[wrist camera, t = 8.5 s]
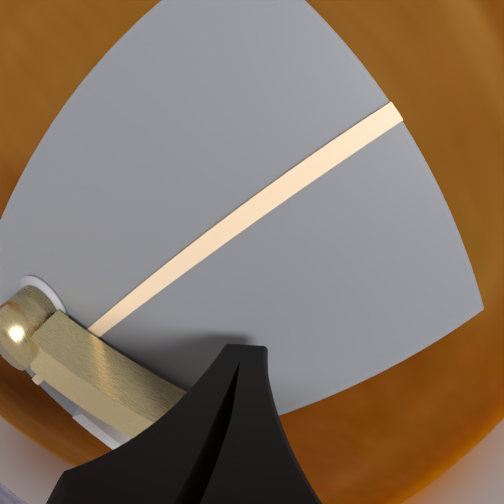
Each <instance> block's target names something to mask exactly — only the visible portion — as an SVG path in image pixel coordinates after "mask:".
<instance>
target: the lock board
mask: <svg viewBox="0 0 504 504" xmlns="http://www.w3.org/2000/svg"><path fill="white" fill-rule="evenodd" d="M27 285H30V286H34V287H36V288H37V289H39V290H40V291H41V292H43V293H44V294H45V295H46V296H47V298H48V299H49V300H50V301H51V303H52V304H53V306H54V307H55V309H56V311H57V310H59V311H61V312H62V313H63V314H65V315H66V316H67V317H69V318H70V319H71V320H73V321H74V322H75V323H77V324H78V325H79V326H81V327H82V328H84V329H85V330H86V331H88V332H89V333H91V334H92V335H93V336H95V337H96V338H98V339H99V340H101V341H102V342H104V343H105V344H107V345H108V346H110V347H111V348H113V349H114V350H116V351H117V352H119V353H120V354H122V355H124V356H125V357H127V358H128V359H130V360H132V361H133V362H135V363H136V364H138V365H140V366H141V367H143V368H145V369H146V370H148V371H150V372H152V373H153V374H155V375H157V376H159V377H160V378H162V379H164V380H166V381H168V382H169V383H171V384H173V385H175V386H177V387H179V388H181V389H182V390H184V391H186V392H188V391H189V390H190V389H191V388H192V387H193V386H194V384H195V383H196V382H197V381H198V380H199V379H200V377H201V376H202V375H203V374H204V373H205V372H206V370H207V369H208V368H209V367H210V365H211V364H212V363H213V361H214V360H215V359H216V357H217V356H218V355H219V353H220V352H221V351H222V349H223V348H224V346H225V345H226V344H242V345H258V346H265V347H266V348H268V376H269V381H270V386H271V390H272V395H273V399H274V402H275V406H276V409H277V412H278V415H282V414H285V413H288V412H290V411H293V410H296V409H298V408H301V407H304V406H306V405H309V404H311V403H314V402H316V401H319V400H321V399H324V398H326V397H329V396H331V395H333V394H336V393H338V392H340V391H343V390H345V389H347V388H349V387H351V386H354V385H356V384H358V383H360V382H362V381H364V380H366V379H368V378H370V377H372V376H374V375H376V374H378V373H380V372H382V371H384V370H386V369H388V368H390V367H392V366H394V365H396V364H398V363H399V362H401V361H403V360H405V359H407V358H408V357H410V356H412V355H414V354H416V353H417V352H419V351H421V350H422V349H424V348H426V347H427V346H429V345H431V344H432V343H434V342H436V341H437V340H439V339H440V338H442V337H444V336H445V335H447V334H448V333H450V332H451V331H453V330H454V329H456V328H457V327H459V326H460V325H462V324H463V323H465V322H466V321H468V320H469V319H471V318H472V317H473V316H475V315H476V314H478V313H479V312H480V311H482V310H483V309H484V307H483V304H482V300H481V296H480V293H479V289H478V286H477V283H476V279H475V276H474V273H473V270H472V267H471V264H470V261H469V258H468V255H467V253H466V250H465V247H464V244H463V242H462V239H461V237H460V234H459V232H458V229H457V227H456V224H455V222H454V219H453V217H452V215H451V212H450V210H449V208H448V206H447V203H446V201H445V199H444V197H443V195H442V193H441V190H440V188H439V186H438V184H437V182H436V180H435V178H434V176H433V174H432V172H431V170H430V169H429V167H428V165H427V163H426V161H425V159H424V157H423V155H422V154H421V152H420V150H419V148H418V147H417V145H416V143H415V141H414V140H413V138H412V136H411V135H410V133H409V131H408V130H407V128H406V126H405V125H404V123H403V119H402V117H401V115H400V114H399V112H398V111H397V109H396V108H395V106H394V105H393V103H392V102H389V100H388V99H387V97H386V96H385V94H384V93H383V91H382V90H381V89H380V87H379V86H378V84H377V83H376V82H375V80H374V79H373V78H372V76H371V75H370V74H369V72H368V71H367V70H366V68H365V67H364V66H363V65H362V63H361V62H360V61H359V59H358V58H357V57H356V56H355V55H354V53H353V52H352V51H351V50H350V48H349V47H348V46H347V45H346V44H345V43H344V41H343V40H342V39H341V38H340V37H339V36H338V35H337V33H336V32H335V31H334V30H333V29H332V28H331V27H330V26H329V25H328V24H327V22H326V21H325V20H324V19H323V18H322V17H321V16H320V15H319V14H318V13H317V12H316V11H315V10H314V9H313V8H312V7H311V6H310V5H309V4H308V3H307V2H306V1H305V0H161V1H160V2H159V3H158V4H157V5H156V6H154V7H153V8H152V9H151V10H150V11H149V12H148V13H147V14H145V15H144V16H143V17H142V18H141V19H140V20H139V21H138V22H137V23H136V24H135V25H134V26H133V27H132V28H131V29H130V30H129V31H127V32H126V33H125V34H124V36H123V37H122V38H121V39H120V40H119V41H118V42H117V43H116V44H115V45H114V46H113V47H112V48H111V49H110V50H109V51H108V52H107V53H106V55H105V56H104V57H103V58H102V59H101V60H100V61H99V62H98V64H97V65H96V66H95V67H94V68H93V69H92V71H91V72H90V73H89V74H88V75H87V77H86V78H85V79H84V80H83V82H82V83H81V84H80V85H79V87H78V88H77V89H76V91H75V92H74V93H73V95H72V96H71V97H70V99H69V100H68V101H67V103H66V104H65V105H64V107H63V108H62V110H61V111H60V113H59V114H58V115H57V117H56V118H55V120H54V121H53V123H52V124H51V126H50V127H49V129H48V131H47V132H46V134H45V135H44V137H43V138H42V140H41V142H40V143H39V145H38V147H37V148H36V150H35V152H34V154H33V155H32V157H31V159H30V161H29V162H28V164H27V166H26V168H25V170H24V172H23V173H22V175H21V177H20V179H19V181H18V183H17V185H16V187H15V189H14V191H13V193H12V195H11V198H10V200H9V202H8V204H7V206H6V208H5V211H4V213H3V215H2V218H1V220H0V306H1V305H2V304H3V303H4V302H6V301H7V300H8V299H9V298H11V297H12V296H13V295H14V294H16V293H17V292H18V291H19V290H21V289H22V288H23V287H24V286H27ZM25 370H26V371H27V372H28V374H29V375H30V376H31V377H32V380H33V381H34V382H35V383H36V384H37V385H40V386H41V387H42V388H43V389H44V390H45V391H46V392H47V393H48V394H49V395H50V396H51V397H52V398H53V399H54V400H55V401H56V402H57V403H59V404H60V405H61V406H62V407H63V408H64V409H65V410H66V411H67V412H69V413H70V414H71V415H72V416H73V417H72V418H73V419H75V420H76V421H77V422H78V423H79V424H80V425H82V426H83V427H84V428H85V429H87V430H88V431H89V432H90V433H92V434H93V435H94V436H95V437H97V438H98V439H99V440H101V441H102V442H103V443H105V444H106V445H107V446H109V447H110V448H111V449H113V450H114V449H115V448H117V447H119V446H121V445H122V444H124V443H126V442H127V441H129V440H131V439H132V438H131V437H129V436H127V435H126V434H124V433H122V432H120V431H119V430H117V429H115V428H113V427H112V426H110V425H108V424H107V423H105V422H103V421H102V420H100V419H99V418H97V417H95V416H94V415H92V414H91V413H89V412H88V411H86V410H85V409H83V408H82V407H80V406H79V405H77V404H76V403H74V402H73V401H71V400H70V399H68V398H67V397H66V396H64V395H63V394H62V393H60V392H59V391H57V390H56V389H55V388H54V387H52V386H51V385H50V384H48V383H47V382H46V381H44V380H43V379H42V378H41V377H39V376H38V375H37V374H36V373H35V372H33V371H32V370H31V369H30V365H29V366H28V367H27V368H26V369H25Z"/></svg>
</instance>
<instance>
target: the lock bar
mask: <svg viewBox="0 0 504 504" xmlns="http://www.w3.org/2000/svg"><path fill="white" fill-rule="evenodd" d="M0 354H1V356H2V357H3V358H4V359H5V360H6V361H7V362H8V363H9V364H11V365H12V366H13V367H15V368H17V369H19V370H25V369H26V368H27V367H28V366H29V365H30V369H31V370H32V371H33V372H35V373H36V374H37V375H38V376H39V377H41V378H42V379H43V380H44V381H46V382H47V383H48V384H50V385H51V386H52V387H54V388H55V389H56V390H57V391H59V392H60V393H62V394H63V395H64V396H66V397H67V398H68V399H70V400H71V401H73V402H74V403H76V404H77V405H79V406H80V407H82V408H83V409H85V410H86V411H88V412H89V413H91V414H92V415H94V416H95V417H97V418H99V419H100V420H102V421H103V422H105V423H107V424H108V425H110V426H112V427H113V428H115V429H117V430H119V431H120V432H122V433H124V434H126V435H127V436H129V437H131V438H134V437H135V436H137V435H138V434H139V433H141V432H142V431H144V430H145V429H146V428H148V427H149V426H151V425H152V424H153V423H154V422H156V421H157V420H158V419H159V418H160V417H162V416H163V415H164V414H165V413H166V412H167V411H169V410H170V409H171V408H172V407H173V406H174V405H175V404H176V403H177V402H178V401H179V400H180V399H181V398H182V397H183V396H184V395H185V394H186V393H187V392H186V391H184V390H182V389H181V388H179V387H177V386H175V385H173V384H171V383H169V382H168V381H166V380H164V379H162V378H160V377H159V376H157V375H155V374H153V373H152V372H150V371H148V370H146V369H145V368H143V367H141V366H140V365H138V364H136V363H135V362H133V361H132V360H130V359H128V358H127V357H125V356H124V355H122V354H120V353H119V352H117V351H116V350H114V349H113V348H111V347H110V346H108V345H107V344H105V343H104V342H102V341H101V340H99V339H98V338H96V337H95V336H93V335H92V334H91V333H89V332H88V331H86V330H85V329H84V328H82V327H81V326H79V325H78V324H77V323H75V322H74V321H73V320H71V319H70V318H69V317H67V316H66V315H65V314H63V313H62V312H61V311H59V310H57V311H56V309H55V307H54V306H53V304H52V303H51V301H50V300H49V299H48V298H47V296H46V295H45V294H44V293H43V292H41V291H40V290H39V289H37V288H36V287H34V286H30V285H27V286H24V287H23V288H22V289H21V290H19V291H18V292H17V293H16V294H14V295H13V296H12V297H11V298H9V299H8V300H7V301H6V302H4V303H3V304H2V305H1V306H0Z"/></svg>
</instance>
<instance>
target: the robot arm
mask: <svg viewBox="0 0 504 504" xmlns="http://www.w3.org/2000/svg"><path fill="white" fill-rule="evenodd" d="M0 504H27V503H26V502H24V501H23V500H21V499H20V498H19V497H17V496H16V495H15V494H14V493H12V492H11V491H10V490H9V489H7V488H6V487H5V486H4V485H2V484H1V483H0ZM46 504H322V503H321V501H320V500H319V498H318V497H317V495H316V493H315V492H314V490H313V489H312V487H311V485H310V484H309V482H308V480H307V478H306V476H305V474H304V473H303V471H302V469H301V467H300V465H299V463H298V461H297V460H296V457H295V455H294V453H293V451H292V449H291V447H290V444H289V442H288V440H287V437H286V435H285V432H284V430H283V427H282V424H281V421H280V419H279V415H278V412H277V409H276V406H275V402H274V399H273V395H272V390H271V386H270V381H269V376H268V348H266V347H265V346H258V345H242V344H226V345H225V346H224V348H223V349H222V351H221V352H220V353H219V355H218V356H217V357H216V359H215V360H214V361H213V363H212V364H211V365H210V367H209V368H208V369H207V370H206V372H205V373H204V374H203V375H202V376H201V377H200V379H199V380H198V381H197V382H196V383H195V384H194V386H193V387H192V388H191V389H190V390H189V391H188V392H187V393H186V394H185V395H184V396H183V397H182V398H181V399H180V400H179V401H178V402H177V403H176V404H175V405H174V406H173V407H172V408H171V409H170V410H169V411H167V412H166V413H165V414H164V415H163V416H162V417H160V418H159V419H158V420H157V421H156V422H154V423H153V424H152V425H151V426H149V427H148V428H146V429H145V430H144V431H142V432H141V433H139V434H138V435H137V436H135V437H134V438H132V439H131V440H129V441H127V442H126V443H124V444H122V445H121V446H119V447H117V448H115V449H114V450H112V451H110V452H108V453H106V454H104V455H102V456H101V457H98V458H96V459H94V460H92V461H89V462H87V463H85V464H82V465H80V466H77V467H75V468H72V469H69V470H67V471H64V472H63V474H62V475H61V477H60V478H59V480H58V482H57V484H56V486H55V488H54V489H53V491H52V493H51V495H50V497H49V499H48V501H47V503H46Z"/></svg>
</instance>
